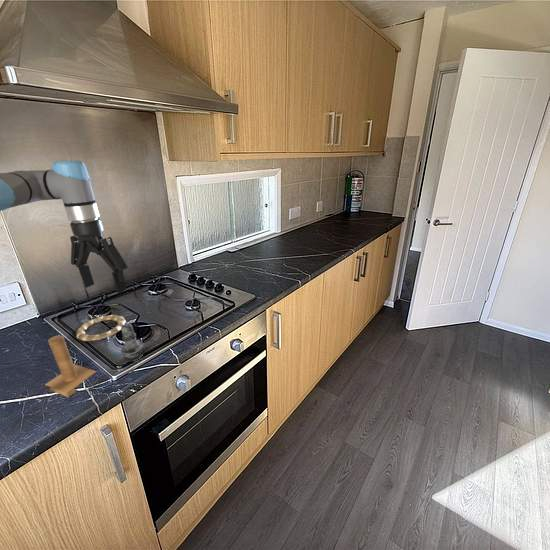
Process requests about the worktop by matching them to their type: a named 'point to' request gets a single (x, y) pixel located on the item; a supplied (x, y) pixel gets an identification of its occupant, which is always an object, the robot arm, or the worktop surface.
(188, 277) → the worktop surface
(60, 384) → the post stand
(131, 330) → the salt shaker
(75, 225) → the robot arm
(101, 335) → the ring
